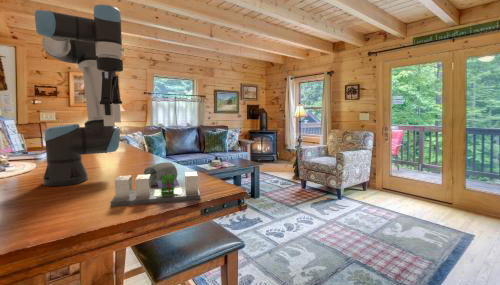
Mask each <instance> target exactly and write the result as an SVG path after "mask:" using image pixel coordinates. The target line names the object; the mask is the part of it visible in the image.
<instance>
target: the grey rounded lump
mask: <svg viewBox="0 0 500 285" xmlns="http://www.w3.org/2000/svg"><path fill="white" fill-rule="evenodd" d="M166 173H169V174H172V175H174V174H175V175H174V177H175V178H178V169H177V167H176V166H175V164H173V163H172V162H169V161H168V162H159V163H155V164H151V165H149V166H147V167H146V168H144V172H143V175H146V174H151V187H154V186H158V183H157V181H160V180H162V178H161V177H162V176H164V175H166ZM158 179H159V180H158Z"/></svg>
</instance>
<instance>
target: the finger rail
mask: <svg viewBox="0 0 500 285" xmlns="http://www.w3.org/2000/svg"><path fill="white" fill-rule="evenodd" d="M197 172H198V171H186V172H184V184H185V186H175V187H174V189H175V188H176V189H175V190H172V191H170V194H169V191H164V192H161V191H160V189H161V188H152V186H151V174H146V175H144V174H138V175H137V176H136V178H135V180H134V181H135V189H133V176H132V175H131V174H129V175H118V176H117V177H116V178H115V180H114V188H115V189H114V192H115V195H114V196H113V198H112V199H111V201H110V207H111V208H112V207H115V208H116V207H124V206H135V205H136V206H137V205H147V204H148V205H151V204H159V203H173V202H174V203H175V202H184V201H194V200H195V201H197V200H201V193H200V189H199V180H198V178H199V176H198V173H197Z"/></svg>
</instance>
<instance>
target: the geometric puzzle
mask: <svg viewBox="0 0 500 285" xmlns="http://www.w3.org/2000/svg"><path fill="white" fill-rule="evenodd" d="M174 175H175V174H174ZM174 175H172V174H169V173H166V175H164V176H162V177H161V178H162V180H160V181H157V183H158V184H157V187H158V189H160V188H161V189H160V191H161V192H164V191H169V194H170V191H172V190H175V189H176V188H175V187H180V185H179V181H178V180H177V178H178V177H177V178H175V177H174ZM158 180H159V179H158ZM174 188H175V189H174Z"/></svg>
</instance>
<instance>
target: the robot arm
mask: <svg viewBox="0 0 500 285" xmlns="http://www.w3.org/2000/svg"><path fill="white" fill-rule="evenodd" d="M92 15H93V16H92V17H93V18H89V17H82V16H79V15H78V16H77V15H72V14H68V13H62V12H61V13H60V12H57V11H56V12H55V11H51V10H44V9H36V10H35V11H34V23H35V29H36V30H35V31H36V34H37V35H39V36H43V37H42V39H41V44H42V49H43V50H44V51H45V53H46V54H48V55H49V56H50V57H51V58H54V59H56V60H57V61H60V62H64V63H66V64H67V63H68V64H76V65H77V67H78V69H79V70H80V71H82V77H83V86H84V94H85V95H84V96H85V104H86V112H87V113H86V114H87V120H86V121H85V122H84V123H83V124H84V126H80V124H79V123H72V124H63V125H57V126H56V125H55V126H50V127H47V128H46V129H45V130H44V139H43V141H44V142H45V143H44V144H45V152H46V154H45V155H46V168H45V171H44V175H43V178H42V184H43V186H46V187H62V186H70V185H76V184H80V183H83V182H85V181H87V180H88V178H89V177H88V176H89V175H88V171H87V169H86V167H85V165H84V163H83V161H82V156H83V155H85V156H86V155H95V154H96V155H98V154H108V153H114V152H117V150H118V149H119V146H120V138H121V131H120V126H118V125H115V124H116V123H122V120H121V118H122V116H121V105H123V100H122V99H121V91H120V86H119V75H118V74H117V73H118V72H119V73H120V72H123V71H124V62H123V61H124V60H123V59H122V58H123V52H124V51H125V48H123V43H122V42H123V41H122V40H123V39H122V18H121V12H120V9H118V8H117V7H116V6H113V5H110V4H109V5H108V4H103V3H102V4H100V3H99V4H95V5H94V7H93V14H92Z"/></svg>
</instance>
